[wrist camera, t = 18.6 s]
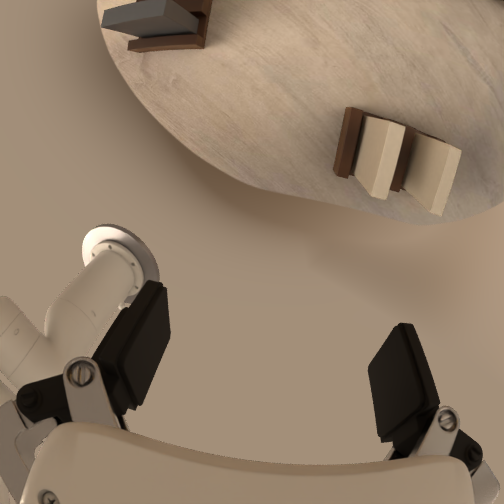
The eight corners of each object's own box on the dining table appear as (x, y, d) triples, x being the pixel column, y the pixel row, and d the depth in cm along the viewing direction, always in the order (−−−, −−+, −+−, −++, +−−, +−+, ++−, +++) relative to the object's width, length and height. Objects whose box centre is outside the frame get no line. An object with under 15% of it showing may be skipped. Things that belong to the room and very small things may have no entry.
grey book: (196, 34, 26) (163, 15, 17) (144, 38, 26) (100, 27, 18) (199, 19, 25) (167, -4, 16) (146, 24, 25) (104, 10, 16)
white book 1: (363, 174, 33) (386, 200, 25) (351, 171, 34) (370, 196, 25) (376, 119, 29) (405, 126, 21) (363, 115, 29) (389, 121, 21)
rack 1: (204, 48, 28) (195, 44, 25) (139, 52, 28) (127, 50, 25) (219, -30, 21) (212, -40, 18) (154, -23, 21) (144, -30, 18)
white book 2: (424, 136, 29) (462, 150, 20) (409, 188, 33) (441, 216, 25) (413, 131, 29) (450, 144, 20) (399, 184, 33) (429, 212, 25)
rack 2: (418, 193, 34) (428, 201, 31) (332, 169, 35) (336, 176, 32) (434, 137, 29) (445, 141, 26) (345, 106, 30) (351, 107, 27)
